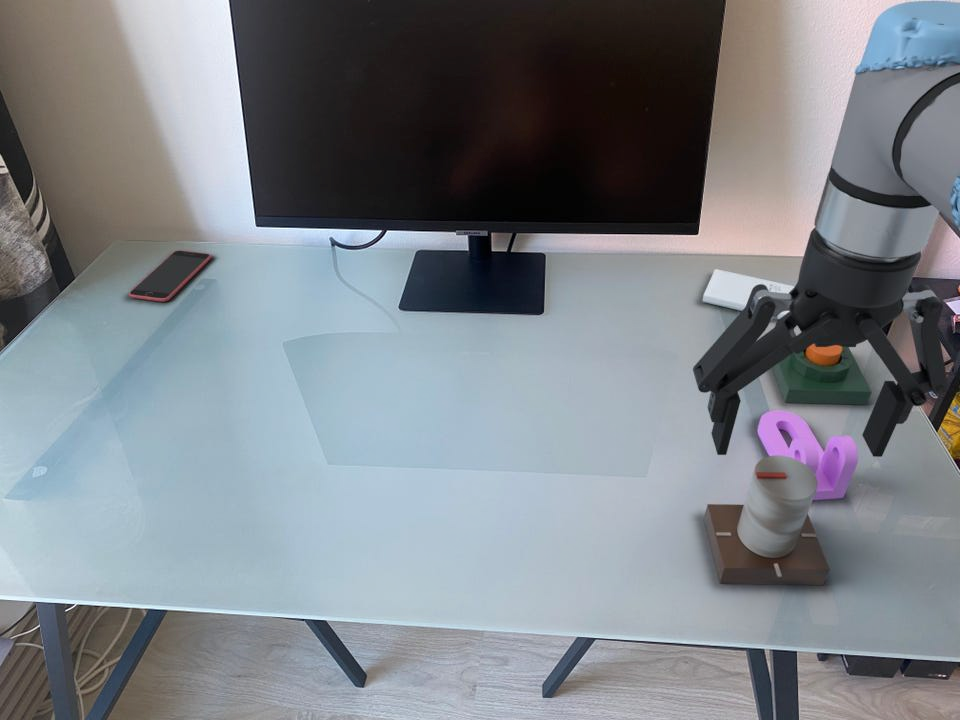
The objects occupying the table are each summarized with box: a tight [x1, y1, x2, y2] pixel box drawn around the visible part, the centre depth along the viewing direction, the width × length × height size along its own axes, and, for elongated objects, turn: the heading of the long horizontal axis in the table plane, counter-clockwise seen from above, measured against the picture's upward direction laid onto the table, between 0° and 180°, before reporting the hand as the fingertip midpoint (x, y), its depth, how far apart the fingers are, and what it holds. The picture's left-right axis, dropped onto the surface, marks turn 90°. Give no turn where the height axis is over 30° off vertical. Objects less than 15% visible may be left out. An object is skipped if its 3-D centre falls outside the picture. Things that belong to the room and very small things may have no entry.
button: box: [805, 344, 842, 366], centre depth 95 cm, size 4×4×2 cm
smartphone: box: [128, 249, 212, 303], centre depth 121 cm, size 7×1×14 cm
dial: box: [737, 455, 818, 558], centre depth 73 cm, size 6×6×9 cm
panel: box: [703, 503, 830, 586], centre depth 76 cm, size 10×10×3 cm
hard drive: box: [702, 268, 795, 321], centre depth 112 cm, size 2×8×12 cm
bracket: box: [756, 409, 859, 501], centre depth 85 cm, size 13×6×7 cm, turn 4°
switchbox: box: [771, 346, 873, 406], centre depth 97 cm, size 10×10×4 cm
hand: (794, 445), depth 68 cm, fingers open, 13 cm apart
